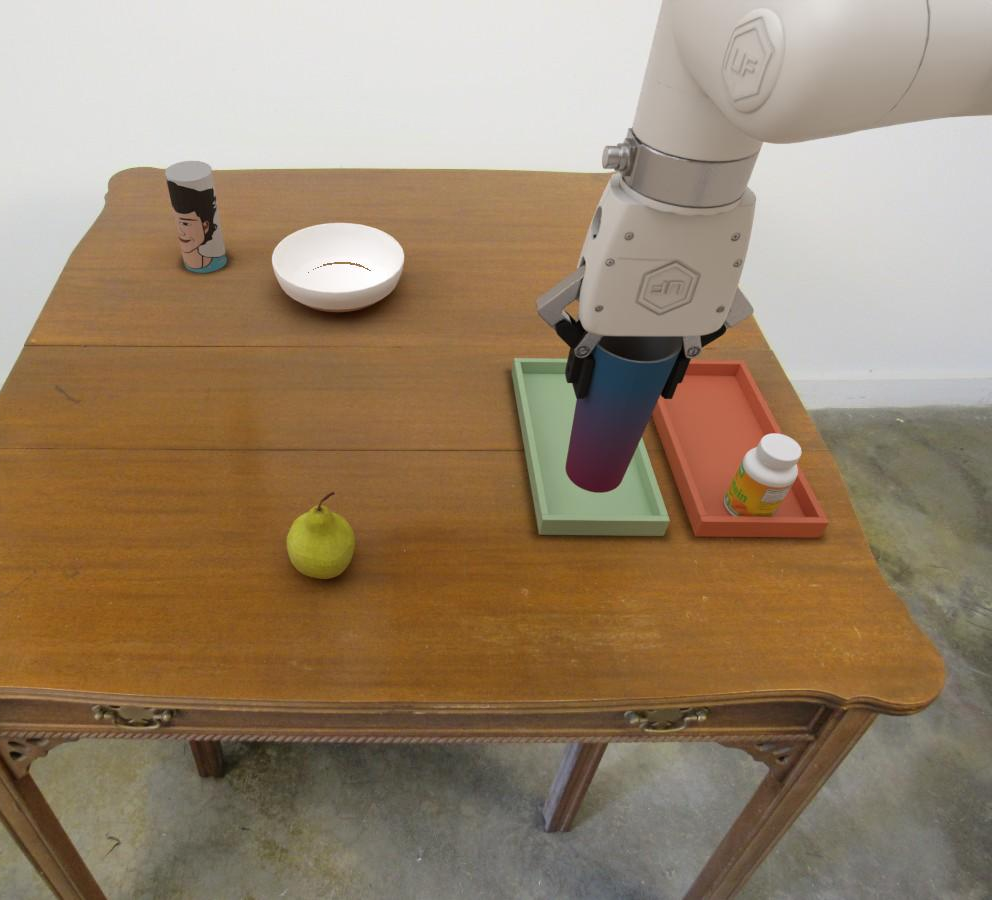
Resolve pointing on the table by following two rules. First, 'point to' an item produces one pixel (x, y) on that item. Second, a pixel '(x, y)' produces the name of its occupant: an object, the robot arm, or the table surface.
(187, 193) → the white printed cylinder
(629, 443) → the cup
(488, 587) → the table surface
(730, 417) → the terracotta tray
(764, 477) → the supplement bottle
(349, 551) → the fruit
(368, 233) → the bowl
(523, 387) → the sage tray
